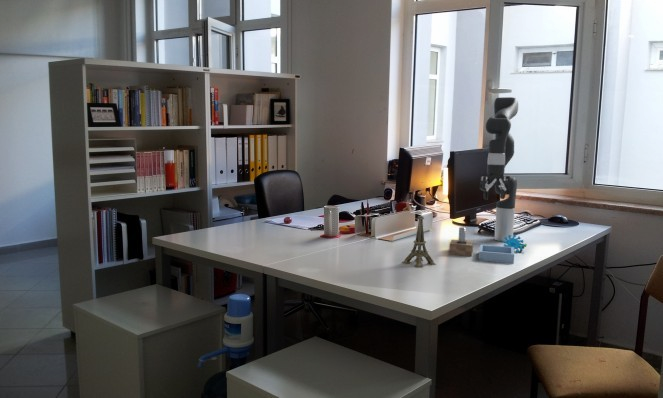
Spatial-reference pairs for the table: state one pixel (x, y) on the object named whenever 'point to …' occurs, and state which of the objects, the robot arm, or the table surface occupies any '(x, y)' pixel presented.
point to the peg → (462, 235)
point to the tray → (496, 253)
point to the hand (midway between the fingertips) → (494, 199)
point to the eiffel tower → (419, 247)
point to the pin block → (461, 248)
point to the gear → (514, 243)
